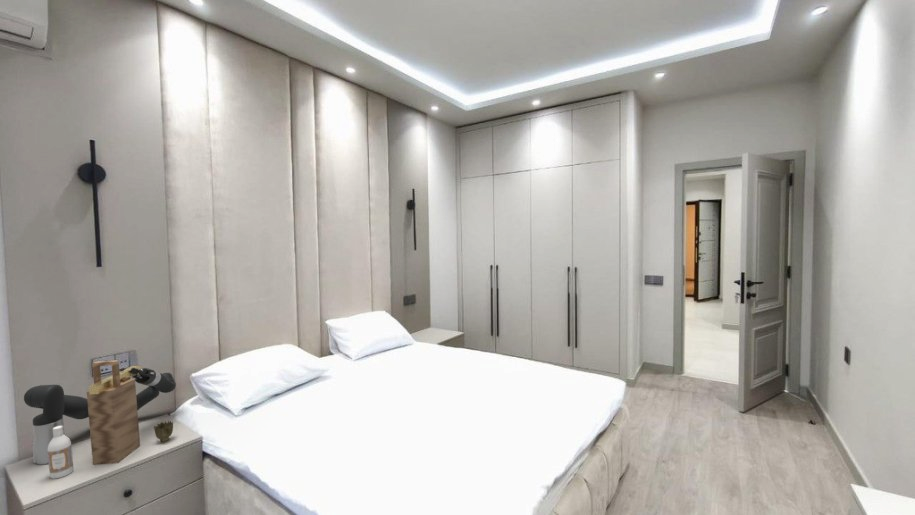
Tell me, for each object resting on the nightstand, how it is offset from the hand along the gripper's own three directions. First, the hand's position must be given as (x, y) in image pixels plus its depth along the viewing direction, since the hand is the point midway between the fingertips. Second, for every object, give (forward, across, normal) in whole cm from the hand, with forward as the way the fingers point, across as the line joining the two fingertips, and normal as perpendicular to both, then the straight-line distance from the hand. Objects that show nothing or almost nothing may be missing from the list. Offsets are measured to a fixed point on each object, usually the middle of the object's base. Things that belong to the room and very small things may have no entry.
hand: (126, 370), depth 185 cm
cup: (-18, -14, -31) cm, 38 cm away
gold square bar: (+4, 0, -6) cm, 7 cm away
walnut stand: (-9, 0, -35) cm, 37 cm away
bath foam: (+1, +13, -42) cm, 44 cm away
